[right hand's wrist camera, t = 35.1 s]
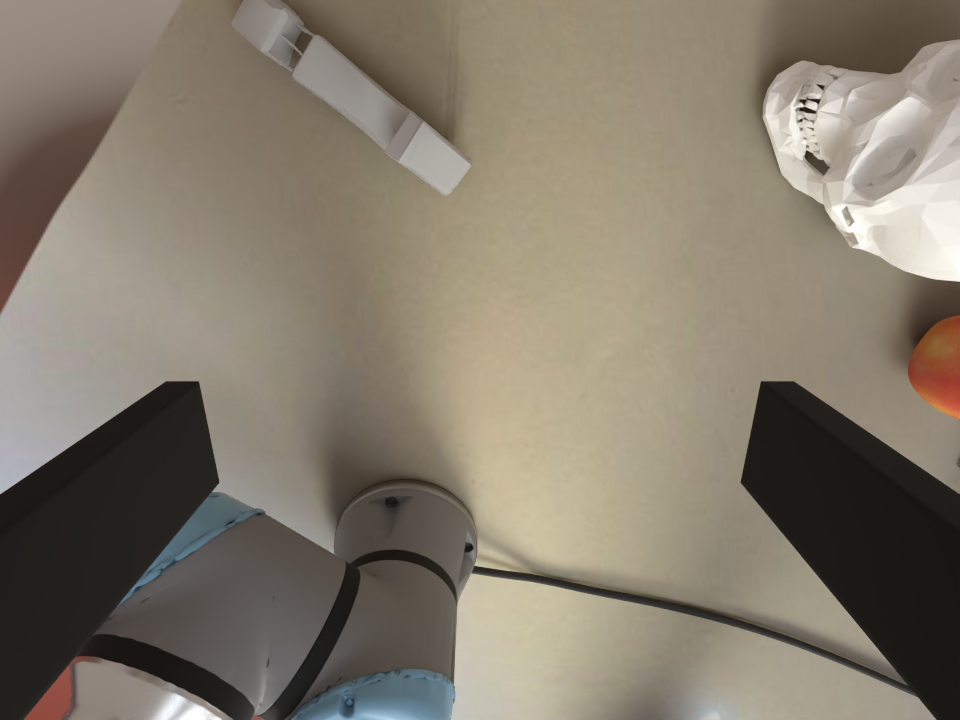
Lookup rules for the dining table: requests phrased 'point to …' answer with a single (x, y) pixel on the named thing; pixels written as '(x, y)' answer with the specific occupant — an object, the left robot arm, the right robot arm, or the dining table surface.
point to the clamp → (352, 94)
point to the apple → (938, 366)
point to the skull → (879, 154)
